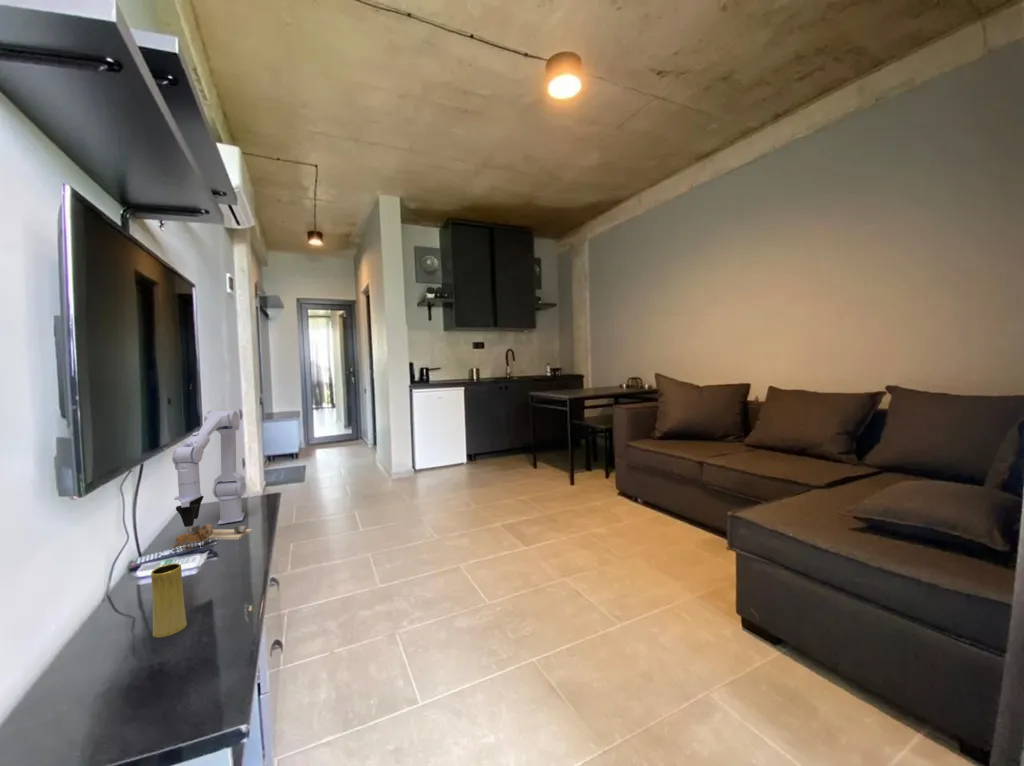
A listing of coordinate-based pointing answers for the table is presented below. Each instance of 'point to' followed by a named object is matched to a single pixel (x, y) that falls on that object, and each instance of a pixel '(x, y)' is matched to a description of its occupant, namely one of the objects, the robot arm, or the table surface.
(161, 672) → the table surface
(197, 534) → the lion figurine
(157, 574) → the vase
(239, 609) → the table surface
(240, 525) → the shaft rig
